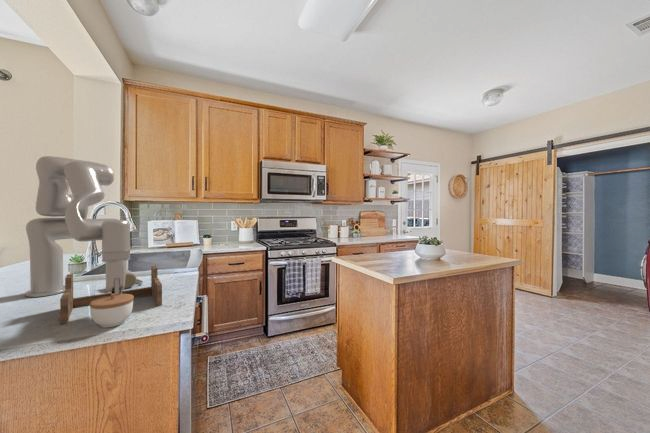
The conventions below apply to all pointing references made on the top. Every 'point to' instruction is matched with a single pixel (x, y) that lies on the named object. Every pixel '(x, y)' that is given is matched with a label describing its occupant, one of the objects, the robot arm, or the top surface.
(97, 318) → the lidded jar
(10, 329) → the top surface
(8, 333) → the top surface
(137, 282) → the white mug
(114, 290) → the robot arm
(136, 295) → the wooden rack
